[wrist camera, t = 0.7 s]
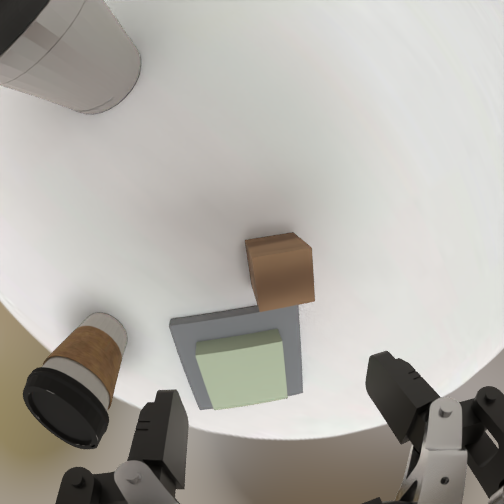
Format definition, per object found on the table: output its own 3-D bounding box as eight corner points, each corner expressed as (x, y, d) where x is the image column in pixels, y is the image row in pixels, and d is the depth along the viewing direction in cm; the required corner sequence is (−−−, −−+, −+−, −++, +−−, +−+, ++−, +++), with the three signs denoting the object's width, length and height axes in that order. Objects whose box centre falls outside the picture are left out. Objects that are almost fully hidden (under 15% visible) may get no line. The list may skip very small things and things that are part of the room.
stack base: (170, 319, 29) (165, 338, 25) (294, 298, 30) (304, 315, 26) (200, 402, 33) (199, 423, 30) (300, 385, 34) (307, 405, 31)
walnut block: (244, 239, 28) (251, 257, 22) (292, 232, 28) (311, 247, 22) (251, 285, 29) (259, 312, 24) (297, 277, 30) (314, 301, 24)
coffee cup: (117, 370, 31) (84, 459, 16) (67, 330, 28) (12, 407, 14) (150, 335, 30) (118, 436, 15) (94, 288, 27) (26, 369, 13)
